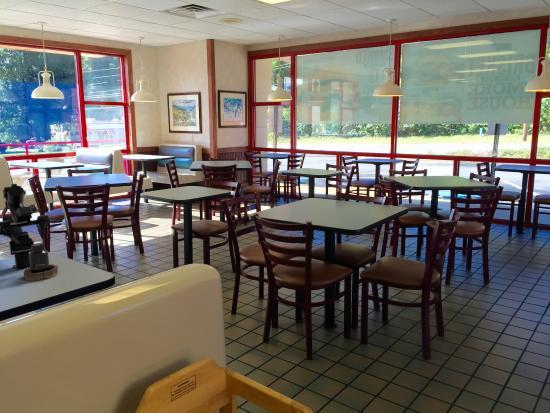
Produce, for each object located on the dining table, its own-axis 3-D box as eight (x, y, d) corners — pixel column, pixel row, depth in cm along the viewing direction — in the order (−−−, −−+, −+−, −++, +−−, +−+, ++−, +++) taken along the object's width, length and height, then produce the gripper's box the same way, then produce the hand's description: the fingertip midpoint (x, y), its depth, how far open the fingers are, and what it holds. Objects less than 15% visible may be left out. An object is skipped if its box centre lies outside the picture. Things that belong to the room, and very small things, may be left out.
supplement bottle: (39, 277, 183) (35, 247, 181) (27, 275, 186) (23, 246, 184) (54, 272, 189) (50, 243, 187) (42, 270, 192) (39, 241, 190)
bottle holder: (19, 276, 187) (18, 270, 186) (49, 269, 196) (49, 262, 195) (32, 282, 179) (31, 275, 179) (63, 274, 188) (62, 267, 188)
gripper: (-5, 201, 183) (9, 233, 177) (45, 195, 196) (59, 224, 190) (-8, 219, 189) (4, 250, 184) (40, 212, 203) (53, 240, 197)
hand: (31, 240), depth 189 cm, fingers open, 9 cm apart
